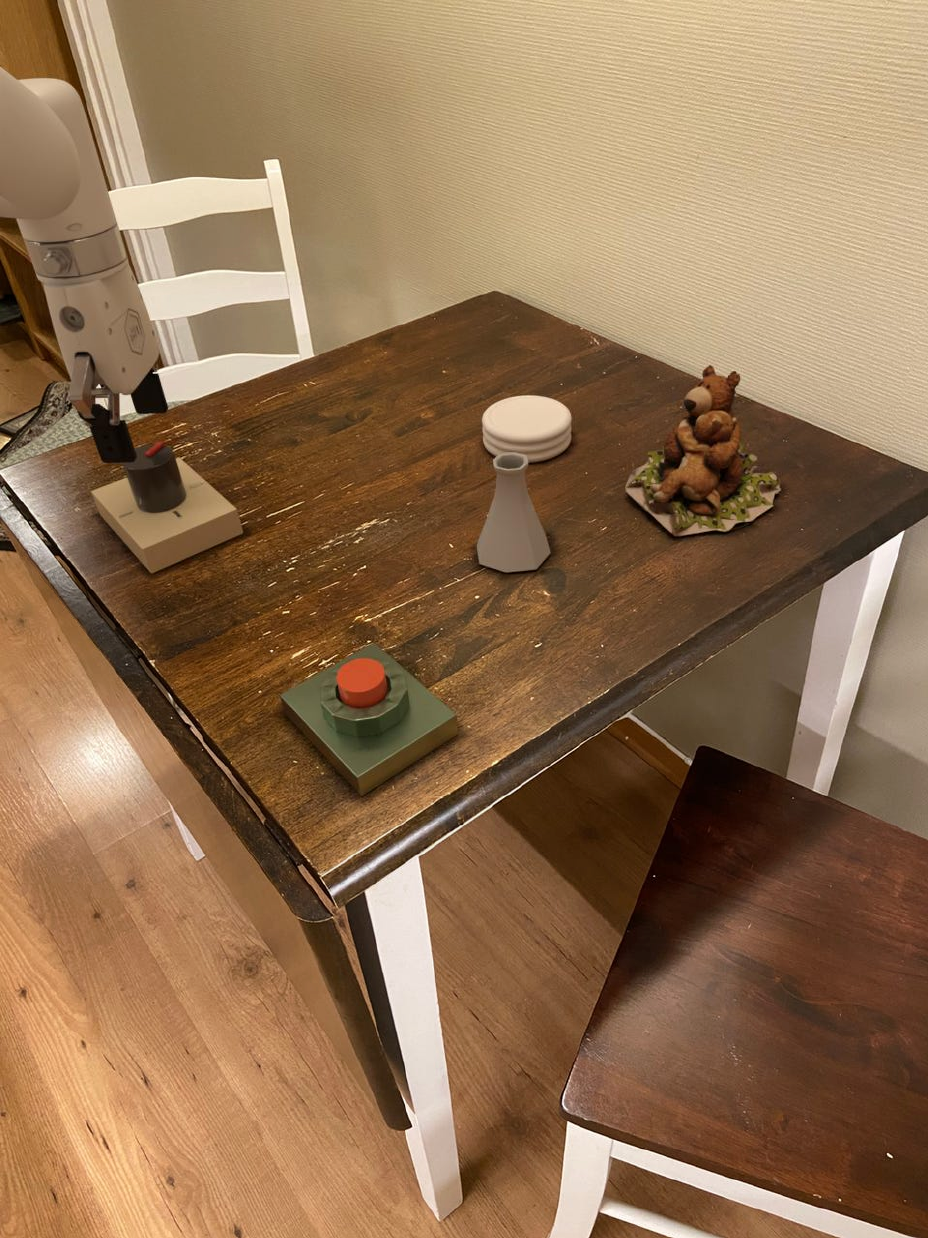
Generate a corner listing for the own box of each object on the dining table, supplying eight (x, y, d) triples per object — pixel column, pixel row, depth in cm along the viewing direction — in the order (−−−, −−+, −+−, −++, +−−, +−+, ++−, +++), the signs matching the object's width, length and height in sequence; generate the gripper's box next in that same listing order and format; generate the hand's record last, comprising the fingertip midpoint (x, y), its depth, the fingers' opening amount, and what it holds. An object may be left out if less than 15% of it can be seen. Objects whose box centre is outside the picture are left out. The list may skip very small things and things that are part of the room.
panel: (99, 514, 94) (90, 489, 92) (186, 480, 99) (178, 455, 96) (151, 574, 85) (141, 547, 83) (243, 533, 90) (236, 507, 88)
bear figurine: (597, 491, 92) (602, 382, 84) (704, 446, 97) (718, 339, 89) (690, 554, 83) (705, 438, 75) (802, 499, 88) (827, 386, 80)
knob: (167, 516, 87) (151, 470, 84) (126, 508, 89) (109, 462, 86) (196, 490, 91) (182, 444, 87) (156, 483, 92) (141, 437, 89)
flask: (468, 571, 83) (461, 479, 76) (484, 527, 88) (479, 438, 81) (544, 578, 81) (544, 485, 75) (556, 533, 86) (557, 443, 80)
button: (330, 690, 67) (327, 673, 65) (370, 667, 68) (367, 651, 67) (357, 716, 64) (353, 699, 63) (397, 692, 66) (394, 675, 65)
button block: (284, 714, 70) (274, 678, 67) (377, 661, 74) (371, 625, 71) (361, 797, 63) (353, 760, 61) (459, 734, 67) (455, 697, 65)
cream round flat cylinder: (465, 440, 101) (463, 413, 99) (531, 412, 106) (531, 385, 103) (521, 474, 95) (520, 446, 93) (589, 443, 99) (590, 414, 97)
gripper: (83, 286, 67) (147, 481, 78) (153, 219, 80) (199, 394, 91) (-12, 290, 68) (65, 483, 78) (73, 223, 81) (128, 397, 92)
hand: (137, 435), depth 85 cm, fingers open, 9 cm apart
